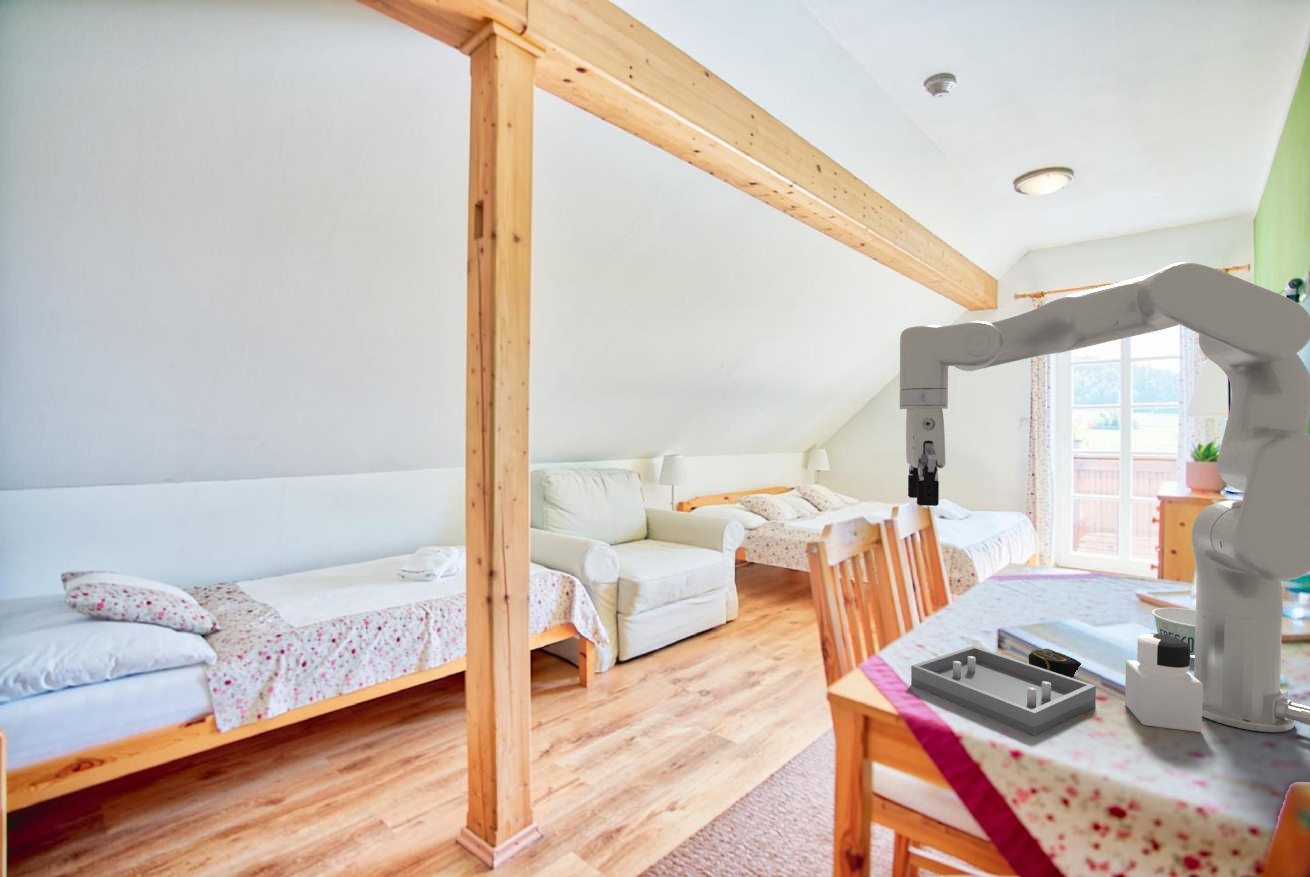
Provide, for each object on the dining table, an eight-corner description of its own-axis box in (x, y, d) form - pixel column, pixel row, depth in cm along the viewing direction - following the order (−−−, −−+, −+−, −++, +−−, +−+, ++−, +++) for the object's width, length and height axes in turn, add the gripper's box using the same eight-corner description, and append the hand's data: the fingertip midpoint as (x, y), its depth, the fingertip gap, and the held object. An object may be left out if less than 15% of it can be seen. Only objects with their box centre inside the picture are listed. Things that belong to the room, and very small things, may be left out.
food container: (1243, 654, 120) (1244, 619, 119) (1221, 669, 113) (1222, 632, 113) (1164, 636, 130) (1165, 603, 129) (1140, 648, 123) (1141, 614, 123)
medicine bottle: (1180, 711, 97) (1182, 632, 97) (1202, 733, 90) (1205, 648, 90) (1124, 704, 99) (1125, 627, 99) (1142, 725, 93) (1143, 643, 92)
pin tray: (1095, 706, 99) (1095, 682, 99) (1034, 735, 90) (1034, 709, 90) (972, 663, 116) (973, 643, 116) (911, 684, 107) (911, 662, 107)
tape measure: (1085, 681, 108) (1085, 659, 108) (1053, 686, 106) (1054, 664, 106) (1048, 666, 115) (1049, 645, 115) (1018, 671, 113) (1019, 650, 113)
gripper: (958, 399, 100) (957, 509, 100) (937, 401, 117) (936, 495, 117) (907, 399, 101) (906, 508, 102) (893, 401, 118) (892, 494, 119)
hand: (922, 501), depth 110 cm, fingers open, 9 cm apart
